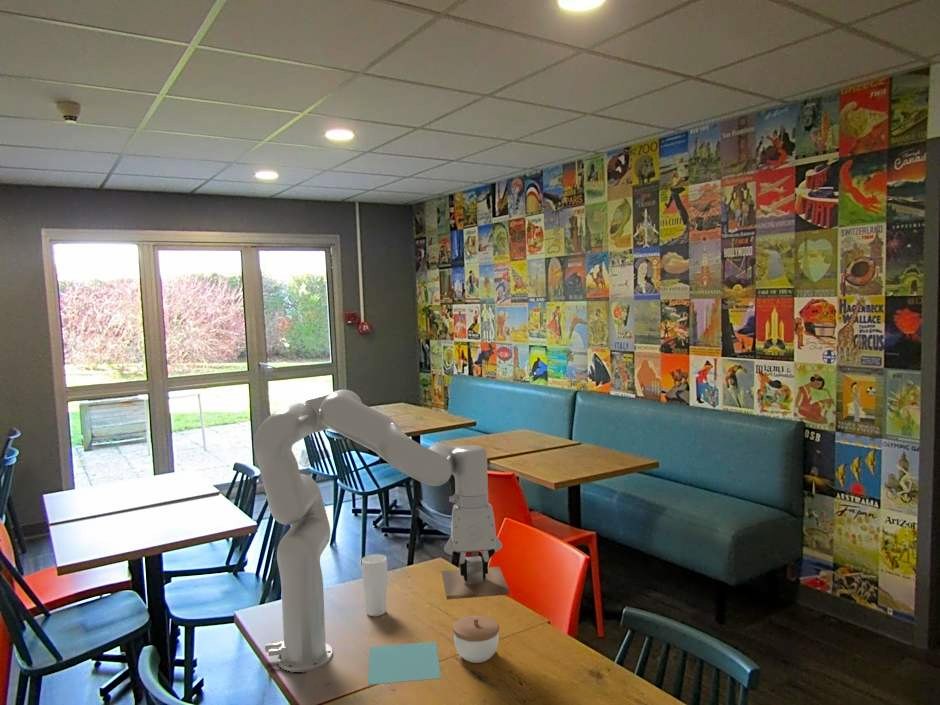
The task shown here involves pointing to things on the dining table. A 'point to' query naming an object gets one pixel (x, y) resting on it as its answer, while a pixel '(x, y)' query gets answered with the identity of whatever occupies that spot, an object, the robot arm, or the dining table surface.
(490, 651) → the lidded jar
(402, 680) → the teal mat
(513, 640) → the dining table surface
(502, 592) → the walnut cover
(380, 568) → the drinking glass
